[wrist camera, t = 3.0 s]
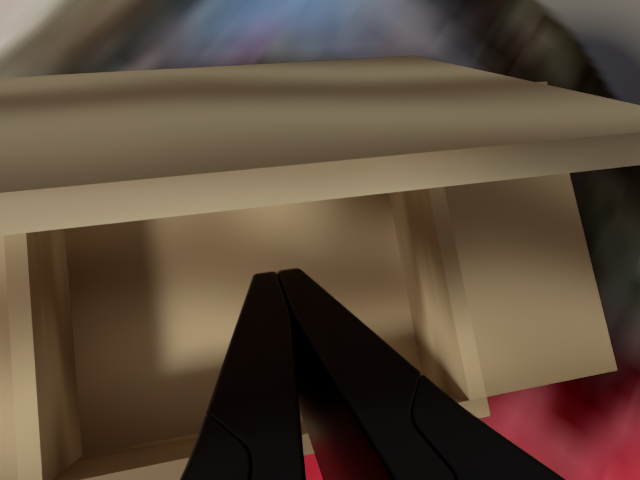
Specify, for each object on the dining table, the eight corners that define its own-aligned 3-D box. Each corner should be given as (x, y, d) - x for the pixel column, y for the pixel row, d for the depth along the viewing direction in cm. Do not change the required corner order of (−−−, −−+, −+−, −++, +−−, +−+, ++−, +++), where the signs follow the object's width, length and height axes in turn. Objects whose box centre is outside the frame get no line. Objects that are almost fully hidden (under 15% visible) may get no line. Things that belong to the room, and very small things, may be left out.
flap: (714, 156, 8) (724, 124, 8) (-356, 274, 5) (-387, 229, 5) (413, 70, 18) (414, 55, 18) (5, 95, 15) (1, 77, 15)
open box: (543, 377, 22) (621, 388, 17) (-89, 504, 17) (-198, 562, 13) (485, 116, 24) (543, 67, 19) (-99, 164, 19) (-196, 112, 15)
